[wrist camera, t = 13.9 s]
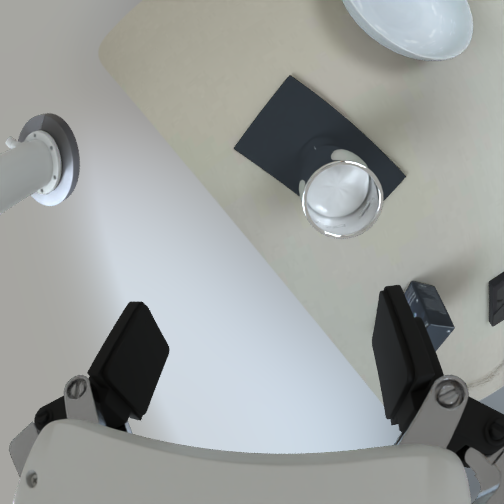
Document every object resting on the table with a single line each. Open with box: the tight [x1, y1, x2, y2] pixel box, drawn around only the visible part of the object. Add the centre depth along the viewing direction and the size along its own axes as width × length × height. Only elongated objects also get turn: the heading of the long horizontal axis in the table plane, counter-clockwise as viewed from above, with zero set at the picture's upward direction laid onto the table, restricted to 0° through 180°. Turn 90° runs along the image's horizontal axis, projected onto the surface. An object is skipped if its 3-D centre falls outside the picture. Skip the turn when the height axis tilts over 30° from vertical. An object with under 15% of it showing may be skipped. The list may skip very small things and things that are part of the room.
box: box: [404, 281, 455, 352], centre depth 39 cm, size 8×6×11 cm
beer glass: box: [298, 137, 383, 239], centre depth 27 cm, size 7×7×15 cm
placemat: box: [234, 76, 406, 201], centre depth 33 cm, size 20×12×1 cm, turn 55°
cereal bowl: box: [342, 0, 473, 61], centre depth 17 cm, size 17×17×7 cm
